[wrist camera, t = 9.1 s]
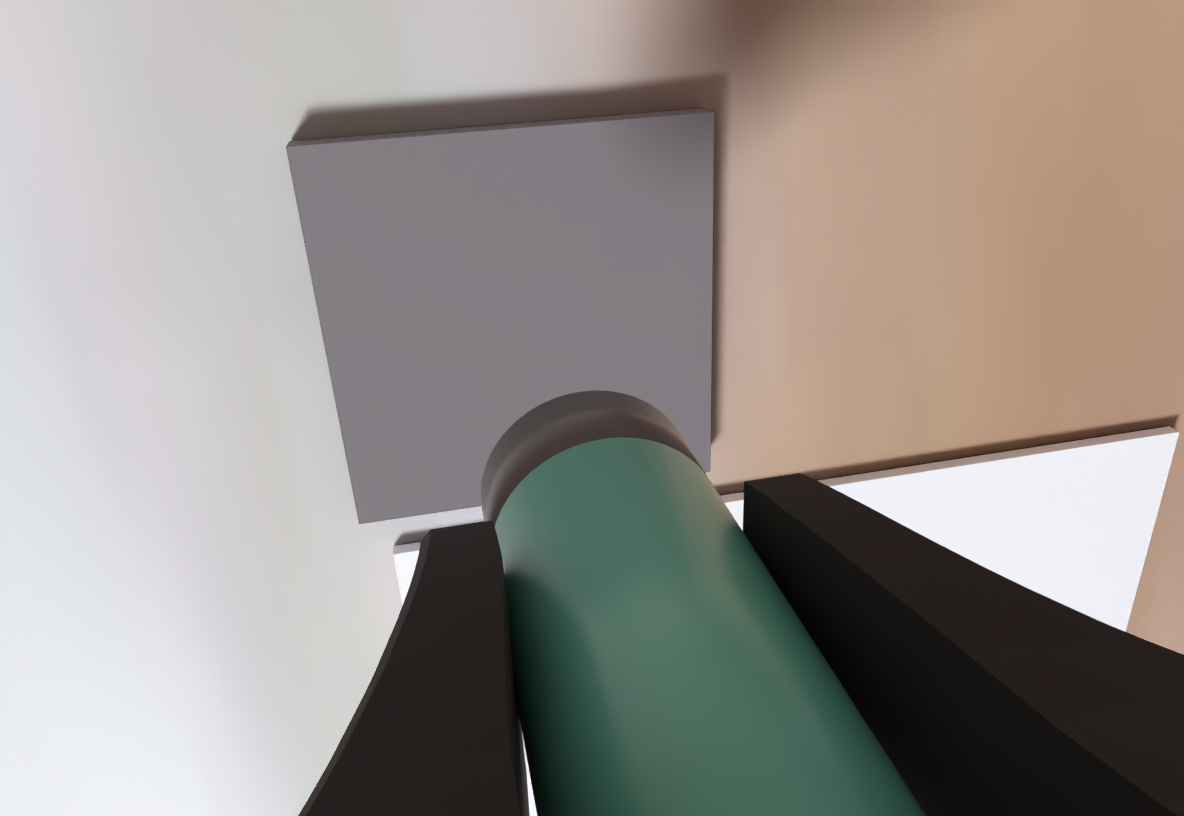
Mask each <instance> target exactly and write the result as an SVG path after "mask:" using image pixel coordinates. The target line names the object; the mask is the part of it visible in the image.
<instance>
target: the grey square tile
mask: <svg viewBox="0 0 1184 816" xmlns="http://www.w3.org/2000/svg"><path fill="white" fill-rule="evenodd" d="M286 150H287V155H288V160H289V165H290V171H291V176H292V181H293V186H294V191H295V196H296V201H297V207H298V212H299V217H300V222H301V227H302V232H303V237H304V243H305V248H306V253H307V258H308V263H309V268H310V274H311V279H312V284H313V289H314V294H315V299H316V304H317V310H318V315H319V320H320V325H321V330H322V335H323V340H324V346H325V351H326V356H327V361H328V366H329V371H330V377H331V382H332V387H333V392H334V397H335V402H336V407H337V413H338V418H339V423H340V428H341V433H342V438H343V443H344V449H345V454H346V459H347V464H348V469H349V474H350V480H351V485H352V490H353V495H354V500H355V505H356V510H357V516H358V521H359V524H363V523H370V522H377V521H383V520H390V519H397V518H403V517H410V516H417V515H423V514H430V513H437V512H443V511H450V510H457V509H464V508H470V507H477V506H481V483H482V477H483V473H484V469H485V466H486V463H487V461H488V458H489V456H490V454H491V452H492V450H493V449H494V447H495V445H496V444H497V442H498V441H499V439H500V438H501V437H502V436H503V434H504V433H505V432H506V431H507V430H508V429H509V428H510V427H511V426H512V425H513V424H514V423H515V422H516V421H517V420H518V419H519V418H521V417H522V416H523V415H525V414H526V413H527V412H529V411H530V410H532V409H534V408H535V407H537V406H539V405H540V404H543V403H545V402H547V401H549V400H551V399H554V398H557V397H560V396H563V395H566V394H571V393H576V392H581V391H594V390H600V391H613V392H618V393H624V394H627V395H630V396H633V397H636V398H639V399H641V400H643V401H645V402H647V403H649V404H651V405H652V406H653V407H655V408H656V409H658V410H659V411H661V412H662V413H663V414H664V415H665V416H666V417H667V418H668V419H669V420H670V421H671V422H672V424H673V425H674V426H675V427H676V429H677V430H678V432H679V433H680V435H681V436H682V438H683V440H684V441H685V443H686V444H687V446H688V447H689V449H690V450H691V452H692V454H693V455H694V457H695V458H696V460H697V461H698V463H699V464H700V466H701V467H702V469H703V471H704V472H710V455H711V360H712V265H713V170H714V112H712V111H709V110H707V109H704V108H698V109H685V110H673V111H660V112H648V113H635V114H623V115H610V116H598V117H585V118H573V119H560V120H548V121H536V122H523V123H511V124H498V125H486V126H473V127H461V128H448V129H436V130H423V131H411V132H398V133H386V134H374V135H361V136H349V137H336V138H324V139H311V140H299V141H290V142H289V143H288V145H287V146H286Z"/></svg>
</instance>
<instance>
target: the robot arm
mask: <svg viewBox="0 0 1184 816" xmlns="http://www.w3.org/2000/svg"><path fill="white" fill-rule="evenodd" d="M743 532H744V534H745V536H746V537H747V539H748V540H749V542H750V543H751V545H752V546H753V548H754V550H755V551H756V553H757V554H758V556H759V557H760V559H761V560H762V562H763V563H764V565H765V567H766V568H767V570H768V571H769V573H770V574H771V576H772V577H773V579H774V580H775V582H776V584H777V585H778V587H779V588H780V590H781V591H782V593H783V594H784V596H785V598H786V599H787V601H788V602H789V604H790V605H791V607H792V608H793V610H794V611H795V613H796V615H797V616H798V618H799V619H800V621H801V622H802V624H803V625H804V627H805V628H806V630H807V632H808V633H809V635H810V636H811V638H812V639H813V641H814V642H815V644H816V646H817V647H818V649H819V650H820V652H821V653H822V655H823V656H824V658H825V659H826V661H827V663H828V664H829V666H830V667H831V669H832V670H833V672H834V673H835V675H836V676H837V678H838V680H839V681H840V683H841V684H842V686H843V687H844V689H845V690H846V692H847V694H848V695H849V697H850V698H851V700H852V701H853V703H854V704H855V706H856V707H857V709H858V711H859V712H860V714H861V715H862V717H863V718H864V720H865V721H866V723H867V724H868V726H869V728H870V729H871V731H872V732H873V734H874V735H875V737H876V738H877V740H878V741H879V743H880V745H881V746H882V748H883V749H884V751H885V752H886V754H887V755H888V757H889V759H890V760H891V762H892V763H893V765H894V766H895V768H896V769H897V771H898V772H899V774H900V776H901V777H902V779H903V780H904V782H905V783H906V785H907V786H908V788H909V789H910V791H911V793H912V794H913V796H914V797H915V799H916V800H917V802H918V803H919V805H920V807H921V808H922V810H923V811H924V813H925V814H926V816H1184V655H1183V654H1180V653H1177V652H1175V651H1172V650H1170V649H1167V648H1164V647H1162V646H1159V645H1156V644H1154V643H1151V642H1149V641H1146V640H1144V639H1141V638H1139V637H1136V636H1134V635H1132V634H1129V633H1127V632H1124V631H1122V630H1120V629H1117V628H1115V627H1113V626H1110V625H1108V624H1105V623H1103V622H1101V621H1098V620H1096V619H1094V618H1092V617H1090V616H1087V615H1085V614H1083V613H1081V612H1079V611H1076V610H1074V609H1072V608H1070V607H1068V606H1065V605H1063V604H1061V603H1059V602H1057V601H1054V600H1052V599H1050V598H1048V597H1046V596H1044V595H1041V594H1039V593H1037V592H1035V591H1033V590H1030V589H1028V588H1026V587H1024V586H1022V585H1020V584H1018V583H1016V582H1014V581H1012V580H1010V579H1007V578H1005V577H1003V576H1001V575H999V574H997V573H995V572H993V571H991V570H989V569H987V568H985V567H983V566H981V565H979V564H977V563H975V562H973V561H971V560H969V559H967V558H965V557H963V556H961V555H959V554H957V553H955V552H953V551H951V550H950V549H948V548H946V547H944V546H942V545H940V544H938V543H936V542H934V541H932V540H930V539H928V538H926V537H924V536H923V535H921V534H919V533H917V532H915V531H913V530H911V529H909V528H907V527H905V526H904V525H902V524H900V523H898V522H896V521H894V520H892V519H890V518H889V517H887V516H885V515H883V514H881V513H879V512H877V511H875V510H873V509H872V508H870V507H868V506H866V505H864V504H862V503H860V502H858V501H856V500H854V499H853V498H851V497H849V496H847V495H845V494H843V493H841V492H839V491H837V490H835V489H833V488H831V487H829V486H827V485H825V484H823V483H821V482H819V481H817V480H814V479H812V478H810V477H808V476H805V475H803V474H800V473H798V474H792V475H785V476H779V477H772V478H766V479H759V480H753V481H746V482H744V505H743ZM299 816H530V815H529V800H528V786H527V772H526V763H525V754H524V745H523V737H522V728H521V723H520V717H519V712H518V706H517V699H516V687H515V676H514V662H513V649H512V639H511V630H510V621H509V612H508V604H507V595H506V586H505V577H504V568H503V559H502V553H501V549H500V545H499V541H498V537H497V533H496V530H495V526H494V522H493V520H491V521H485V522H478V523H472V524H465V525H459V526H452V527H446V528H439V529H432V530H430V531H429V533H428V534H427V535H426V536H425V537H424V538H423V539H422V541H421V543H420V549H419V555H418V559H417V563H416V567H415V570H414V574H413V577H412V580H411V583H410V586H409V589H408V592H407V595H406V598H405V601H404V603H403V606H402V609H401V611H400V614H399V617H398V620H397V622H396V624H395V627H394V629H393V631H392V634H391V636H390V638H389V641H388V643H387V645H386V648H385V650H384V652H383V655H382V657H381V659H380V662H379V664H378V666H377V669H376V671H375V673H374V676H373V678H372V680H371V682H370V684H369V686H368V688H367V690H366V692H365V694H364V696H363V698H362V700H361V702H360V704H359V706H358V708H357V710H356V712H355V714H354V716H353V718H352V720H351V722H350V723H349V725H348V727H347V729H346V731H345V733H344V735H343V737H342V739H341V741H340V743H339V745H338V747H337V749H336V751H335V753H334V755H333V756H332V758H331V760H330V762H329V764H328V766H327V767H326V769H325V771H324V773H323V775H322V776H321V778H320V780H319V781H318V783H317V785H316V787H315V788H314V790H313V792H312V794H311V795H310V797H309V799H308V801H307V802H306V804H305V806H304V807H303V809H302V811H301V812H300V814H299Z"/></svg>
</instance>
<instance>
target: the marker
mask: <svg viewBox="0 0 1184 816" xmlns="http://www.w3.org/2000/svg"><path fill="white" fill-rule="evenodd" d="M481 506H482V511H483V517H484V522H485V521H491V520H493V522H494V526H495V530H496V533H497V537H498V541H499V545H500V549H501V553H502V559H503V568H504V577H505V586H506V595H507V604H508V612H509V621H510V630H511V639H512V649H513V662H514V676H515V687H516V699H517V706H518V712H519V717H520V723H521V728H522V734H523V740H524V745H525V751H526V756H527V762H528V767H529V773H530V779H531V784H532V790H533V795H534V801H535V806H536V812H537V816H926V814H925V813H924V811H923V810H922V808H921V807H920V805H919V803H918V802H917V800H916V799H915V797H914V796H913V794H912V793H911V791H910V789H909V788H908V786H907V785H906V783H905V782H904V780H903V779H902V777H901V776H900V774H899V772H898V771H897V769H896V768H895V766H894V765H893V763H892V762H891V760H890V759H889V757H888V755H887V754H886V752H885V751H884V749H883V748H882V746H881V745H880V743H879V741H878V740H877V738H876V737H875V735H874V734H873V732H872V731H871V729H870V728H869V726H868V724H867V723H866V721H865V720H864V718H863V717H862V715H861V714H860V712H859V711H858V709H857V707H856V706H855V704H854V703H853V701H852V700H851V698H850V697H849V695H848V694H847V692H846V690H845V689H844V687H843V686H842V684H841V683H840V681H839V680H838V678H837V676H836V675H835V673H834V672H833V670H832V669H831V667H830V666H829V664H828V663H827V661H826V659H825V658H824V656H823V655H822V653H821V652H820V650H819V649H818V647H817V646H816V644H815V642H814V641H813V639H812V638H811V636H810V635H809V633H808V632H807V630H806V628H805V627H804V625H803V624H802V622H801V621H800V619H799V618H798V616H797V615H796V613H795V611H794V610H793V608H792V607H791V605H790V604H789V602H788V601H787V599H786V598H785V596H784V594H783V593H782V591H781V590H780V588H779V587H778V585H777V584H776V582H775V580H774V579H773V577H772V576H771V574H770V573H769V571H768V570H767V568H766V567H765V565H764V563H763V562H762V560H761V559H760V557H759V556H758V554H757V553H756V551H755V550H754V548H753V546H752V545H751V543H750V542H749V540H748V539H747V537H746V536H745V534H744V532H743V531H742V529H741V528H740V526H739V525H738V523H737V522H736V520H735V519H734V517H733V515H732V514H731V512H730V511H729V509H728V508H727V506H726V505H725V503H724V502H723V500H722V498H721V497H720V495H719V494H718V492H717V491H716V489H715V488H714V486H713V484H712V483H711V481H710V480H709V478H708V477H707V475H706V474H705V472H704V471H703V469H702V467H701V466H700V464H699V463H698V461H697V460H696V458H695V457H694V455H693V454H692V452H691V450H690V449H689V447H688V446H687V444H686V443H685V441H684V440H683V438H682V436H681V435H680V433H679V432H678V430H677V429H676V427H675V426H674V425H673V424H672V422H671V421H670V420H669V419H668V418H667V417H666V416H665V415H664V414H663V413H662V412H661V411H659V410H658V409H656V408H655V407H653V406H652V405H651V404H649V403H647V402H645V401H643V400H641V399H639V398H636V397H633V396H630V395H627V394H624V393H618V392H613V391H600V390H594V391H581V392H576V393H571V394H566V395H563V396H560V397H557V398H554V399H551V400H549V401H547V402H545V403H543V404H540V405H539V406H537V407H535V408H534V409H532V410H530V411H529V412H527V413H526V414H525V415H523V416H522V417H521V418H519V419H518V420H517V421H516V422H515V423H514V424H513V425H512V426H511V427H510V428H509V429H508V430H507V431H506V432H505V433H504V434H503V436H502V437H501V438H500V439H499V441H498V442H497V444H496V445H495V447H494V449H493V450H492V452H491V454H490V456H489V458H488V461H487V463H486V466H485V469H484V473H483V477H482V483H481Z"/></svg>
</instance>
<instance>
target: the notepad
mask: <svg viewBox="0 0 1184 816" xmlns="http://www.w3.org/2000/svg"><path fill="white" fill-rule="evenodd" d="M1178 435H1179V431H1177V430H1175V429H1173V428H1172V427H1170V426H1168V427H1161V428H1155V429H1148V430H1142V431H1136V432H1129V433H1123V434H1116V435H1110V436H1103V437H1097V438H1090V439H1084V440H1077V441H1071V442H1064V443H1058V444H1051V445H1045V446H1038V447H1032V448H1025V449H1019V450H1012V451H1006V452H999V453H993V454H987V455H980V456H974V457H967V458H961V459H954V460H948V461H941V462H935V463H928V464H922V465H915V466H909V467H902V468H896V469H889V470H883V471H876V472H870V473H863V474H857V475H851V476H844V477H838V478H831V479H825V480H818V481H819V482H821V483H823V484H825V485H827V486H829V487H831V488H833V489H835V490H837V491H839V492H841V493H843V494H845V495H847V496H849V497H851V498H853V499H854V500H856V501H858V502H860V503H862V504H864V505H866V506H868V507H870V508H872V509H873V510H875V511H877V512H879V513H881V514H883V515H885V516H887V517H889V518H890V519H892V520H894V521H896V522H898V523H900V524H902V525H904V526H905V527H907V528H909V529H911V530H913V531H915V532H917V533H919V534H921V535H923V536H924V537H926V538H928V539H930V540H932V541H934V542H936V543H938V544H940V545H942V546H944V547H946V548H948V549H950V550H951V551H953V552H955V553H957V554H959V555H961V556H963V557H965V558H967V559H969V560H971V561H973V562H975V563H977V564H979V565H981V566H983V567H985V568H987V569H989V570H991V571H993V572H995V573H997V574H999V575H1001V576H1003V577H1005V578H1007V579H1010V580H1012V581H1014V582H1016V583H1018V584H1020V585H1022V586H1024V587H1026V588H1028V589H1030V590H1033V591H1035V592H1037V593H1039V594H1041V595H1044V596H1046V597H1048V598H1050V599H1052V600H1054V601H1057V602H1059V603H1061V604H1063V605H1065V606H1068V607H1070V608H1072V609H1074V610H1076V611H1079V612H1081V613H1083V614H1085V615H1087V616H1090V617H1092V618H1094V619H1096V620H1098V621H1101V622H1103V623H1105V624H1108V625H1110V626H1113V627H1115V628H1117V629H1120V630H1122V631H1124V632H1125V631H1126V628H1127V624H1128V620H1129V617H1130V613H1131V609H1132V606H1133V602H1134V598H1135V594H1136V591H1137V587H1138V583H1139V580H1140V576H1141V572H1142V569H1143V565H1144V561H1145V557H1146V554H1147V550H1148V546H1149V543H1150V539H1151V535H1152V532H1153V528H1154V524H1155V520H1156V517H1157V513H1158V509H1159V506H1160V502H1161V498H1162V495H1163V491H1164V487H1165V483H1166V480H1167V476H1168V472H1169V469H1170V465H1171V461H1172V458H1173V454H1174V450H1175V446H1176V443H1177V439H1178ZM720 497H721V498H722V500H723V502H724V503H725V505H726V506H727V508H728V509H729V511H730V512H731V514H732V515H733V517H734V519H735V520H736V522H737V523H738V525H739V526H740V528H741V529H742V531H743V505H744V492H740V493H734V494H727V495H721V496H720ZM420 543H421V542H417V543H410V544H404V545H397V546H393V555H394V561H395V566H396V572H397V578H398V583H399V589H400V595H401V600H402V606H403V603H404V601H405V598H406V595H407V592H408V589H409V586H410V583H411V580H412V577H413V574H414V570H415V567H416V563H417V559H418V555H419V549H420ZM522 737H523V734H522ZM523 745H524V740H523ZM524 754H525V763H526V772H527V786H528V800H529V815H530V816H537V812H536V806H535V801H534V795H533V790H532V784H531V779H530V773H529V767H528V762H527V756H526V751H525V745H524Z"/></svg>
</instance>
